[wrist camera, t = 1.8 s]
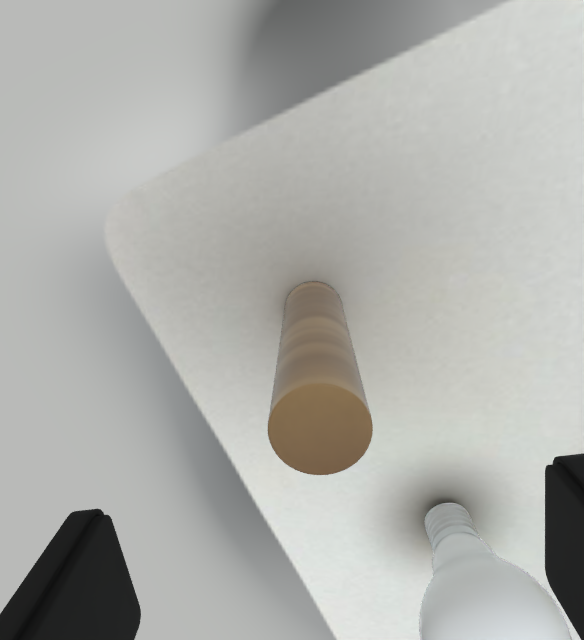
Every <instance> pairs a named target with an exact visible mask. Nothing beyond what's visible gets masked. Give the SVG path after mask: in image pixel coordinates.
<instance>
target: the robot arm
mask: <svg viewBox="0 0 584 640" xmlns="http://www.w3.org/2000/svg"><path fill="white" fill-rule="evenodd" d="M545 571H546V576H547V579H548V582H549V584H550V587H551V588H552V590H553V592H554V594H555V595H556V597H557V599H558V601H559V602H560V604H561V606H562V607H563V609H564V611H565V613H566V614H567V616H568V618H569V619H570V621H571V623H572V624H573V626H574V628H575V630H576V631H577V633H578V635H579V636H580V638H581V640H584V454H576V455H567V456H559V457H555V458H554V460H553V465H548V466H546V470H545ZM140 617H141V611H140V606H139V602H138V599H137V596H136V593H135V590H134V587H133V584H132V581H131V578H130V575H129V571H128V568H127V565H126V562H125V559H124V556H123V553H122V550H121V547H120V544H119V541H118V538H117V534H116V531H115V529H114V526H113V523H112V519H111V517H110V516H109V515H104V513H103V512H102V511H101V510H100V509H92V510H83V511H75V512H72V513H71V514H70V515H69V516H68V517H67V519H66V520H65V521H64V523H63V525H62V526H61V527H60V529H59V530H58V532H57V533H56V535H55V536H54V537H53V539H52V540H51V542H50V543H49V545H48V546H47V547H46V549H45V550H44V552H43V553H42V555H41V556H40V558H39V559H38V561H37V562H36V563H35V565H34V566H33V568H32V569H31V571H30V572H29V573H28V575H27V576H26V578H25V579H24V581H23V582H22V584H21V585H20V586H19V588H18V589H17V591H16V592H15V594H14V595H13V597H12V598H11V599H10V601H9V602H8V604H7V605H6V607H5V608H4V609H3V611H2V612H1V614H0V640H134V638H135V636H136V633H137V630H138V628H139V624H140Z"/></svg>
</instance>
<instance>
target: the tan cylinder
mask: <svg viewBox="0 0 584 640" xmlns="http://www.w3.org/2000/svg"><path fill="white" fill-rule="evenodd" d="M372 431H373V427H372V419H371V415H370V411H369V407H368V404H367V400H366V396H365V392H364V388H363V384H362V380H361V376H360V373H359V369H358V365H357V361H356V357H355V353H354V349H353V345H352V342H351V338H350V334H349V330H348V326H347V322H346V318H345V314H344V311H343V307H342V303H341V300H340V297H339V295H338V294H337V292H336V291H335V290H334V289H333V288H332V287H330V286H329V285H327V284H324V283H321V282H306V283H303V284H301V285H299V286H297V287H296V288H295V289H294V290H292V292H291V293H290V294H289V296H288V298H287V300H286V304H285V310H284V317H283V324H282V331H281V338H280V345H279V352H278V359H277V366H276V373H275V380H274V387H273V393H272V400H271V407H270V414H269V421H268V436H269V440H270V443H271V445H272V448H273V449H274V451H275V453H276V454H277V455H278V457H279V458H280V459H281V460H282V461H283V462H284V463H286V464H287V465H288V466H290V467H292V468H294V469H295V470H298V471H300V472H303V473H307V474H313V475H328V474H334V473H337V472H340V471H343V470H345V469H347V468H349V467H350V466H352V465H353V464H355V463H356V462H357V461H358V460H359V459H360V458H361V457H362V456H363V455H364V453H365V452H366V450H367V448H368V446H369V444H370V442H371V438H372Z"/></svg>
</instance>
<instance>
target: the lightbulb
mask: <svg viewBox="0 0 584 640" xmlns="http://www.w3.org/2000/svg"><path fill="white" fill-rule="evenodd" d="M424 523H425V528H426V531H427V534H428V537H429V540H430V543H431V546H432V550H433V553H434V554H433V559H432V569H433V577H432V579H431V581H430V583H429V585H428V587H427V589H426V591H425V594H424V596H423V600H422V603H421V608H420V616H419V631H420V639H421V640H572V638H571V634H570V631H569V628H568V625H567V622H566V620H565V618H564V616H563V614H562V612H561V610H560V608H559V607H558V605H557V603H556V602H555V600H554V599H553V598H552V596H551V595H550V594H549V592H548V591H547V590H546V589H545V588H544V587H543V586H542V585H541V584H540V583H539V582H538V581H537V580H536V579H535V578H534V577H532V576H531V575H530V574H528V573H527V572H526V571H524V570H523V569H521V568H519V567H518V566H516V565H514V564H512V563H510V562H508V561H506V560H504V559H502V558H499V557H498V556H497V555H496V554H495V553H494V552H493V550H492V549H491V548H490V547H489V546H488V545H487V544H486V543H485V542H484V541H483V540H481V539H480V537H479V535H478V532H477V530H476V528H475V526H474V524H473V522H472V520H471V517H470V515H469V513H468V511H467V510H466V509H465V508H464V507H462V506H461V505H459V504H456V503H442V504H439V505H437V506H435V507H433V508H432V509H431V510H430V511H429V512H428V513H427V515H426V517H425V522H424Z"/></svg>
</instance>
